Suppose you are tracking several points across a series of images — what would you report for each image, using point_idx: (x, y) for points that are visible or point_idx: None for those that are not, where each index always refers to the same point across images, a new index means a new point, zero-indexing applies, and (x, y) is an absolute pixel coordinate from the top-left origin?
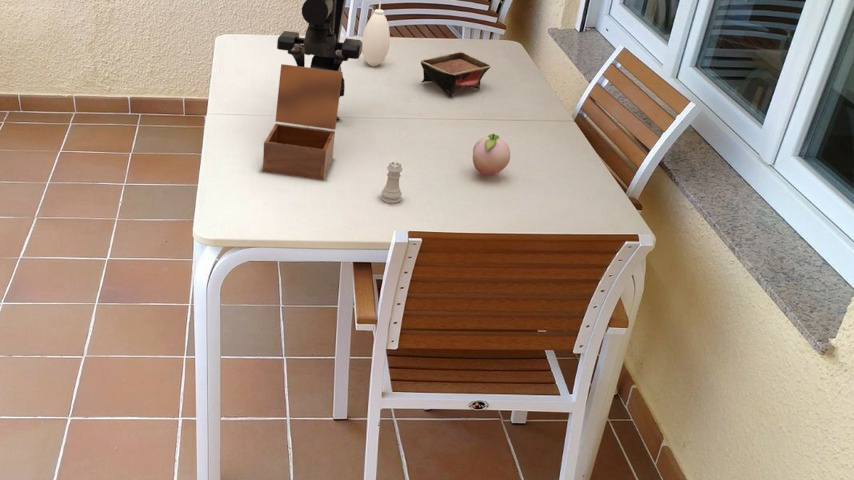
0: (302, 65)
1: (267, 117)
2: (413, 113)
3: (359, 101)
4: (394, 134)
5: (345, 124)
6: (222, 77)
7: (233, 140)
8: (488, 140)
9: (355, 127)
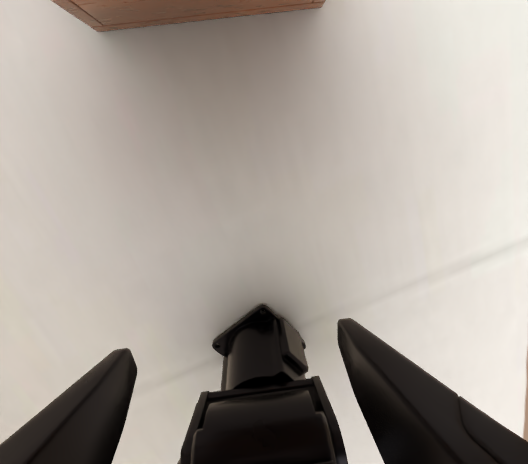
0: (416, 436)
1: (395, 280)
2: None
3: None
4: (40, 327)
5: (188, 328)
6: (521, 427)
7: (477, 54)
8: None
9: (156, 323)
